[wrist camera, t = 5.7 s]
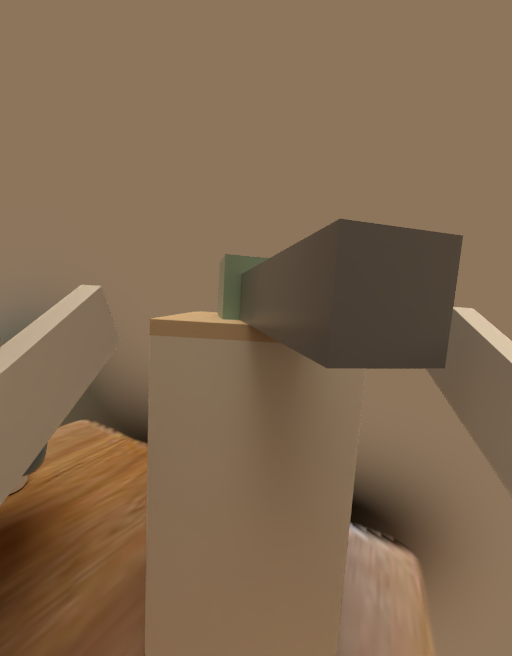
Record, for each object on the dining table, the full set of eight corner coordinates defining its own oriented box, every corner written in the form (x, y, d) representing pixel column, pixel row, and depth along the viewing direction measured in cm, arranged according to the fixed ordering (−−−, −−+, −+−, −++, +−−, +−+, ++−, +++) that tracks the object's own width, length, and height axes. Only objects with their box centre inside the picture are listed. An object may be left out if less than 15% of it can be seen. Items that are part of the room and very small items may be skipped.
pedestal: (189, 527, 36) (196, 311, 33) (304, 535, 36) (322, 318, 33) (144, 671, 22) (149, 318, 19) (333, 684, 22) (369, 331, 19)
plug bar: (217, 314, 28) (219, 263, 28) (279, 317, 30) (282, 268, 29) (274, 368, 7) (289, 146, 6) (482, 368, 8) (509, 190, 8)
